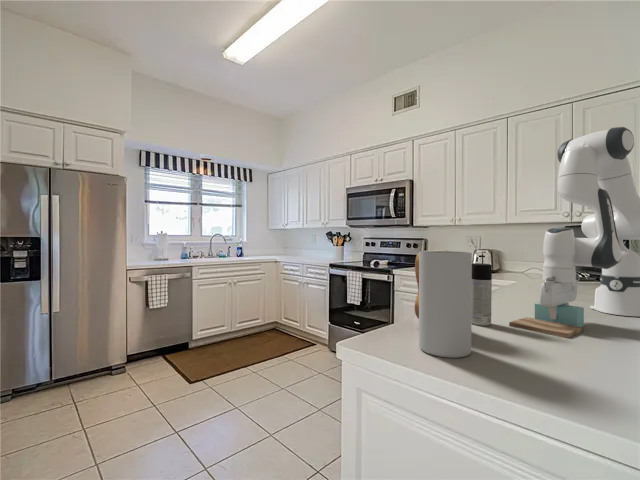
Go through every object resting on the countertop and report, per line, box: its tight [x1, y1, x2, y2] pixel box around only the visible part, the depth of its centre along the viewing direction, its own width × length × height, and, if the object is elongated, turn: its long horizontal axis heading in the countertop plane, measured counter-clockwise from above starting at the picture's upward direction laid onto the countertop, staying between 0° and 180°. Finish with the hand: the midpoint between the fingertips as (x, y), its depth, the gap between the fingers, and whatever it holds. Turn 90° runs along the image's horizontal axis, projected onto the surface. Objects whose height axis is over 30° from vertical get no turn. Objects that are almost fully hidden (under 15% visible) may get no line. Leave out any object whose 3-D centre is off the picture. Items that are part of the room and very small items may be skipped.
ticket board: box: [508, 316, 584, 339], centre depth 105 cm, size 12×16×1 cm
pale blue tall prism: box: [534, 301, 585, 327], centre depth 111 cm, size 6×12×6 cm, turn 35°
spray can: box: [471, 262, 493, 327], centre depth 111 cm, size 7×7×20 cm
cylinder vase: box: [418, 250, 473, 359], centre depth 84 cm, size 12×12×25 cm
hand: (558, 317), depth 111 cm, fingers closed on pale blue tall prism, 6 cm apart
